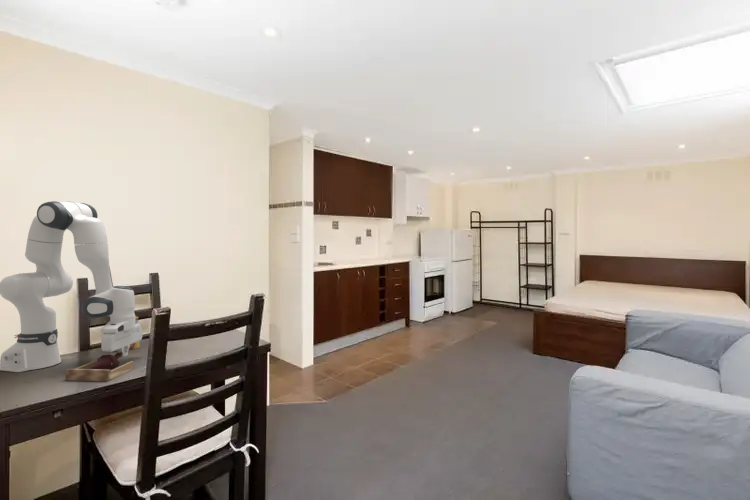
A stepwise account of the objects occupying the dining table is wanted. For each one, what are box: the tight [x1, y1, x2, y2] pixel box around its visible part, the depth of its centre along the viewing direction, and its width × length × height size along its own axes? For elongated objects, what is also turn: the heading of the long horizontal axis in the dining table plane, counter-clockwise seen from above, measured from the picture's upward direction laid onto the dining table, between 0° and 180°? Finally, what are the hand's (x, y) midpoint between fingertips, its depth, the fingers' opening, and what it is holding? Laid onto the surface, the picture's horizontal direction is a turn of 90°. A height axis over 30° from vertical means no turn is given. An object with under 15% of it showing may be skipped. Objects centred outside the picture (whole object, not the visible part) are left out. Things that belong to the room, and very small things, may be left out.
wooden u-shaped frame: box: [65, 359, 135, 382], centre depth 149 cm, size 16×14×4 cm
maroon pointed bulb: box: [91, 352, 122, 370], centre depth 152 cm, size 7×7×15 cm
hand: (123, 356), depth 161 cm, fingers closed
